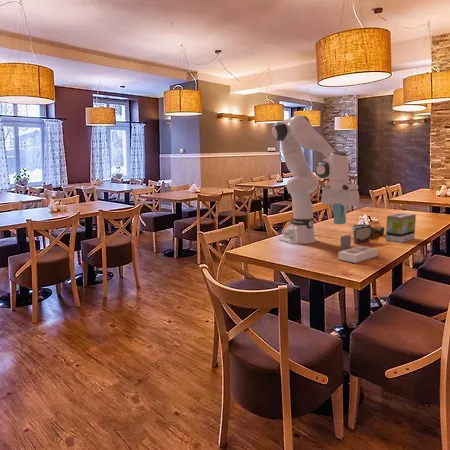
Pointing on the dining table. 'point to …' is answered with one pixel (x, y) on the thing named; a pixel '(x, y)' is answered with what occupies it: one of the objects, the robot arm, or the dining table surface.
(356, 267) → the dining table surface
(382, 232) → the kendama
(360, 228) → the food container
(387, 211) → the dining table surface
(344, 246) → the flat tab
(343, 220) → the square peg
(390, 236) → the tea box
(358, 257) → the socket block
